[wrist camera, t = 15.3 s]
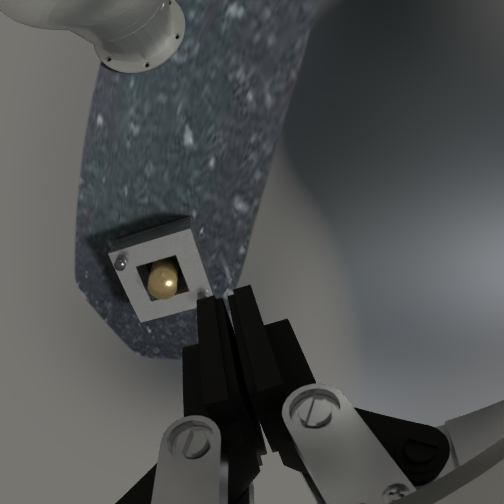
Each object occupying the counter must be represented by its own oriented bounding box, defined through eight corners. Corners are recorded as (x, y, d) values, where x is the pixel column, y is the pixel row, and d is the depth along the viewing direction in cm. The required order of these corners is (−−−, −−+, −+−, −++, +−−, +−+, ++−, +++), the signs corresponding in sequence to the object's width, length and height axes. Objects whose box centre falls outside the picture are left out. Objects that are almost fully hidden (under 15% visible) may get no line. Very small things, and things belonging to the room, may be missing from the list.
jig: (115, 239, 46) (105, 259, 40) (190, 216, 46) (190, 233, 41) (144, 304, 51) (139, 328, 45) (213, 285, 52) (216, 308, 46)
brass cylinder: (148, 255, 48) (142, 279, 42) (172, 247, 48) (170, 270, 42) (159, 277, 50) (155, 302, 43) (182, 269, 50) (181, 294, 44)
